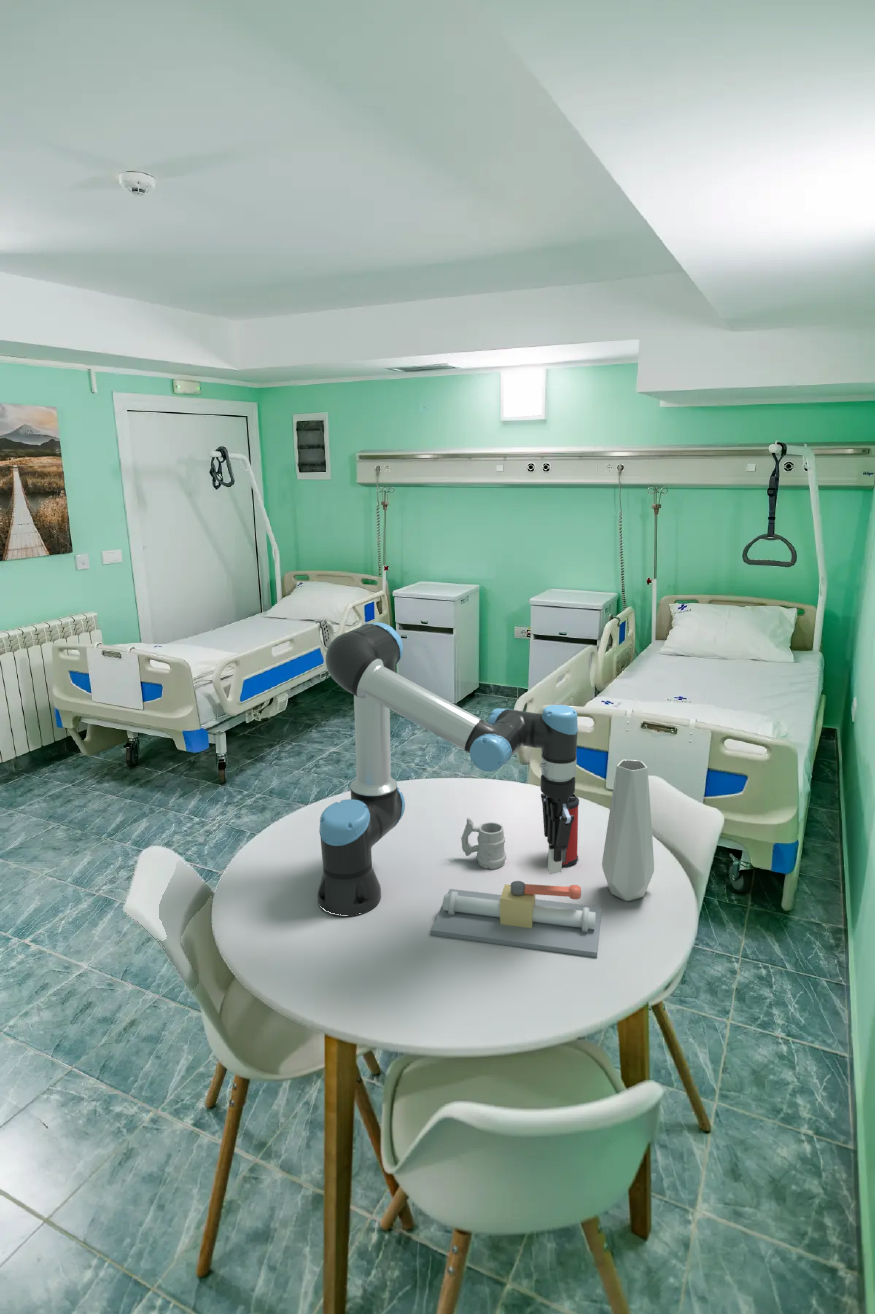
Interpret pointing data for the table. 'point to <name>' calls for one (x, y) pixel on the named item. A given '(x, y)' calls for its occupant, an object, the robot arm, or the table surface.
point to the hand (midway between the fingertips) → (554, 871)
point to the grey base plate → (519, 921)
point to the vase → (629, 833)
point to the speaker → (572, 834)
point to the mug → (486, 844)
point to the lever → (545, 890)
